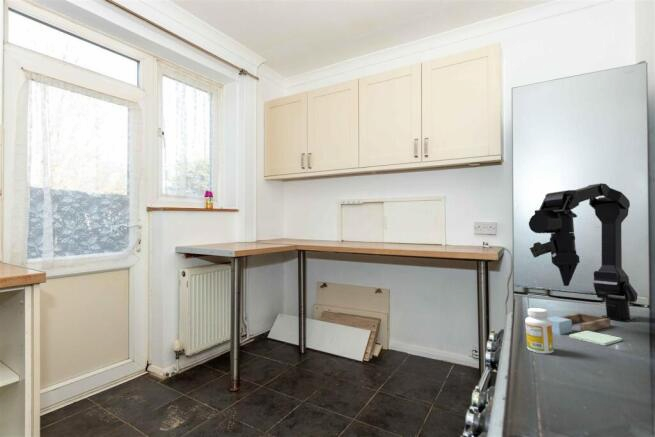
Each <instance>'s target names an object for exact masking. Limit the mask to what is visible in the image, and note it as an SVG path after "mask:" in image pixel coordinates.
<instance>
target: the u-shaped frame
mask: <svg viewBox="0 0 655 437" xmlns="http://www.w3.org/2000/svg"><path fill="white" fill-rule="evenodd" d="M559 317H560V318H566V319H571V321H572V324H573V323H578V322H582V323H580V324H579V328H580V332H583V331H591V332H595V331H597V330H601V329H604V328H609V327H611V326H612V325H611V319H609V318H604V317H601V316H596V315H591V314H586V313H580V312H578V313H577V312H576V313H572V314H567V315H563V316H559Z"/></svg>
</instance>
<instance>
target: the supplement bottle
mask: <svg viewBox="0 0 655 437" xmlns="http://www.w3.org/2000/svg"><path fill="white" fill-rule="evenodd" d="M527 315H528V317H526V318H525V321H524V322H525V323H524V324H525V325H524V326H525V334H526V347H527V349H528V351H530V352H534V353H537V354H544V355H545V354H552V353H554V349H555V348H554V338H553V333H552V324H551V321H550V320H549V319H547V318H548V310H547V309H544V308H539V307H537V308H536V307H530V308H527Z"/></svg>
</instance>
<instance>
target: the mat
mask: <svg viewBox="0 0 655 437" xmlns="http://www.w3.org/2000/svg"><path fill="white" fill-rule="evenodd" d="M568 337H569V338H571V339H576V340H580V341H584V342H589V343H591V344H595V345H601V346H608V345H611V344H615V343H618V342H621V341H623V338H622V337H619V336H613V335H610V334H605V333H604V334H603V333H599V332H595V331H583V332H581V331H579V332H575V333H571V334H569V335H568Z"/></svg>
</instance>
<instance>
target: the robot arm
mask: <svg viewBox="0 0 655 437" xmlns="http://www.w3.org/2000/svg"><path fill="white" fill-rule="evenodd" d="M544 196H545V197H544V198H543V201H542V203H541V204H540V206H539V207H540V208H539V209H536V210H534V214H533V215H532V216H531V217H530V219H529V222H528V226H529V229H530V230H531V231H532V232H533V233H535V234H550V237H549V241H547V242H544V243H541V242H539V241H536V242H535V243H533V246H532V247H529V250H530V252H531V254H532V257H533V258H539V257H540V256H542V255H545V254H548V253H550V255H551V263H552V265H554V266H555V267H557V268H558V270H559V273H560V277H561V278H560V279H561V281H562V283H563V287H569V286H570V283H571V281H572V278H573V276H574V273H575V271H576V269H577V266H578V264H580V256H579V254H577V250H576V241H575V240H576V235H575V225H574V223H575V222H574V218H577V217H578V215H577V214H576V213H575V212H573V211H572V210H573V209H575V208H577V207H578V206H579V205H580V203H582V202H585V201H589V203H588V205H589V206H590V207H591V208H592V209H593V210H594V215H595V217H596V218H597V219H598V220H599V222H600V224H601V266H600V268H598V270H594V272H593V283H592V284H593V288H594V292H595V295H596V298H598V299H604V300H605V301H604V302H605V310H606V312H605V313H606V314H604V315H601V316H600V317H604V318H609V319H610V320H615V321H620V322H625V323H626V322H629V321H634V320H636V319H637V318H636V316H635V317H634V316H631V310H630V302H631V303H632V302H637V301H638V292H637V291H636V290H635V288H634V287H633V286H632V285H631V283H630V277H629V275H628V274H627V273H626V272H625V270H624V269H623V266H622V264H623V263H622V262H623V261H622V259H623V258H622V256H623V255H622V253H623V252H622V246H623V245H622V223H623V222H624V220H625V219H626V218H627V217H628V216H629V209H630V206H631V203H630V200H629V198H628V197H627V196H626V195H625V194H624V193H623V192H621V191H620V190H617V189H614V188H611V187H610V186H609V185H608V184H606V183H604V182H602V183H595V184H589V185H587V186H584V187H581V188H577V189H568V190H561V191H554V192H549V193H546V194H545V195H544Z"/></svg>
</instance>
